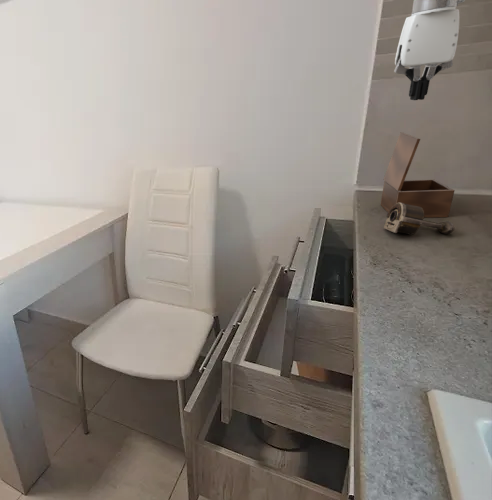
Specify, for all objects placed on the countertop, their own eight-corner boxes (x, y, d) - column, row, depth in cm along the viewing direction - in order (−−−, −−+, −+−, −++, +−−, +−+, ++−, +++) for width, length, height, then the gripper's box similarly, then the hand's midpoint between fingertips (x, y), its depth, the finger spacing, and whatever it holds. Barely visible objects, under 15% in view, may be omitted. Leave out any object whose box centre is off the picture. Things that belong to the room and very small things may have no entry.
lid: (402, 132, 92) (400, 132, 92) (420, 138, 83) (417, 138, 83) (385, 180, 98) (383, 179, 98) (400, 190, 88) (397, 190, 89)
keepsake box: (428, 203, 98) (434, 179, 95) (448, 217, 88) (454, 190, 86) (380, 205, 101) (384, 181, 98) (394, 218, 91) (398, 192, 89)
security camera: (386, 200, 88) (383, 203, 80) (456, 199, 80) (460, 203, 73) (384, 230, 89) (381, 236, 81) (453, 232, 82) (456, 239, 74)
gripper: (467, 2, 78) (447, 95, 86) (387, 14, 82) (374, 101, 90) (487, -4, 72) (464, 97, 79) (399, 9, 76) (385, 104, 83)
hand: (416, 99), depth 84 cm, fingers closed
